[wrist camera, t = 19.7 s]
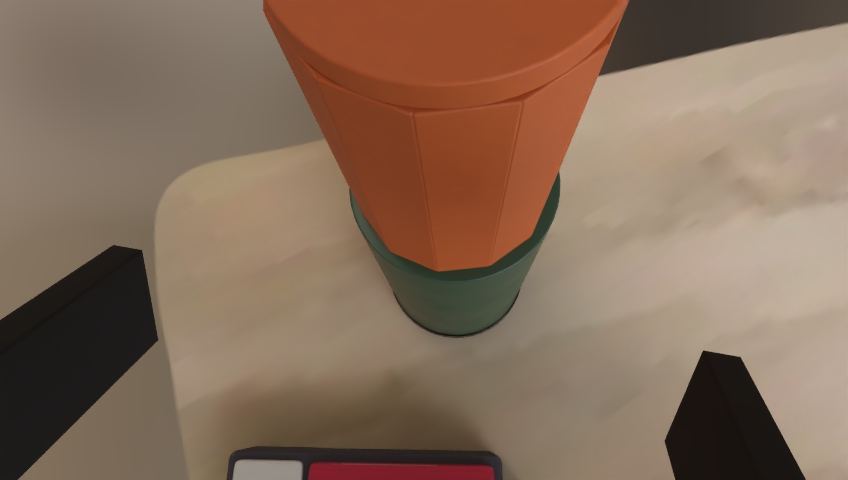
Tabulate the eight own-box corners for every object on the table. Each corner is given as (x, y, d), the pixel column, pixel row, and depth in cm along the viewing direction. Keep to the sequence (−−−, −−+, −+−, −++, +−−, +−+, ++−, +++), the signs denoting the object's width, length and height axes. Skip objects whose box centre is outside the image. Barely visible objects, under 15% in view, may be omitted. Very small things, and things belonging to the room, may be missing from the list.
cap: (573, 135, 22) (702, -177, 10) (504, 301, 20) (566, 147, 8) (408, 76, 23) (356, -258, 11) (328, 225, 21) (172, 4, 10)
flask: (540, 240, 36) (614, 84, 19) (491, 360, 34) (523, 306, 17) (424, 194, 37) (394, 10, 20) (369, 305, 35) (285, 204, 18)
